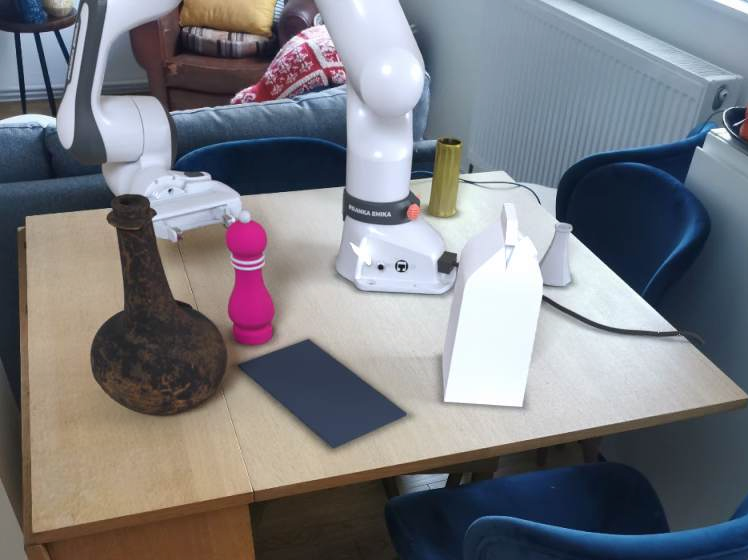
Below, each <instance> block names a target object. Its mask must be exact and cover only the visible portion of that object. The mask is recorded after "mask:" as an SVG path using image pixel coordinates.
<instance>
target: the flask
mask: <svg viewBox="0 0 748 560" xmlns="http://www.w3.org/2000/svg"><path fill="white" fill-rule="evenodd" d="M573 228H574V227H573V225H572V224H570V223H567V222H557V223H555V224H554V234H553V238H552V240H551V243H550V245H549V246H548V248H547V250H546V251H545V253H544V255H543V256H542V258H541V259H540V261H539V262H538V264H539V267H540V271H541V275H542V279H543V285H547V286H552V287H553V286H554V287H565V286H566V285H568V284H569V283H571V282H572V275H571V268H570V259H569V238H570V234H571V232H572V231H573Z"/></svg>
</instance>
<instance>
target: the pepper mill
mask: <svg viewBox="0 0 748 560" xmlns="http://www.w3.org/2000/svg"><path fill="white" fill-rule="evenodd" d="M225 245H226V247H227V249H228V251H229V252H230V255H229V257H230V265H231V266H232V267H233V269H234V284H233V285H234V286H233V289H232V291H231V294H230V296H229V298H228V303H227V315H228V318H229V320H230V321H231V323H232V327H231V329H232V337H233V339H234V340H235V341H236V342H238V343H240V344H242V345H245V346H259V345H262V344H266V343H267V342H270V341H271V339H272V338H273V323H272V320H273V319H274V317H275V315H276V314H275V312H276V310H275V304H274V301H273V299H272V296H271V294H270V292H269V290H268V288H267V285H266V283H265V281H264V275H263V267H264V266H265V264H266V261H265V257H266V255H265V253H264V251H266V248H267V247H268V246H267V245H268V235H267V233H266V230H265V228H264V227H263V226H262V224H260V223H259V222H257V221H255V220H253V219H252V215H251V213H250V212H249V211H248V210H244V209H242V211H241V212H240V213H239V218H238V219H236V220H235V222H233V223H232V224H231V225H230V226H229V227H228V229H226V232H225Z"/></svg>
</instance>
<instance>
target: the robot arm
mask: <svg viewBox="0 0 748 560" xmlns="http://www.w3.org/2000/svg"><path fill="white" fill-rule="evenodd" d="M182 1H183V0H79V1H78V8H77V11H76V15H75V16H76V17H75V22H74V29H73V33H72V34H73V35H72V40H71V45H70V52H69V58H68V65H67V70H66V75H65V76H66V77H65V83H64V87H63V91H62V94H61V97H60V100H59V103H58V106H57V110H56V113H55V114H56V115H55V127H56V134H57V139H58V142H59V144H60V146H61V148H62V149H63V150H64V151H65V152H66V153H67V154H68V155H69V156H70V157H71V158H73V159H74V160H75V161H76V162H78V163H80V164H81V165H83V166H85V167H88V166H95V165H101V172H102V176H103V180H104V181H105V183H106V185H107V187H108V188H109V189H110V191H111V193H113V195H114V196H115V197H116V196H119V195H123V194H140V195H142V196H145V197H147V198H148V199H149V201H150V208H153V209H154V210H155V211H156V212H157V215H156V216H154V217H153V218H152V222H153V227H154V231H155V235H156V239H162V240H169V241H171V242H172V243H173V244H175V243H179V242H182V241H184V237H183V233H184V232H188V231H191V230H192V231H193V230H196V229H201V228H204V227H208V226H212V225H217V224H222V228H224V229H225V230H227V229H228V227H229V226H230V225H231V224H232V223H233V222H235V221H236V220H239V213H240V212H241V211H243V200H242V199H243V198H242V196H241V194H240V193H239V192H238V191H236V190H235V189H234V188H232V187H230V186H229V185H227V184H225V183H223V182H221V181H218V180H214V179H212V176H211V174H210V173H208V172H206V171H178V170H172V169H173V167H174V164H175V161H176V158H177V156H178V155H177V154H178V148H179V134H178V128H177V124H176V121H175V119H174V117H173V116H172V114H171V113H170V110H169V109H168V108H167V107H166V105H165V104H164V103H163V102H162V101H161V100H160V99H159V98H157V97H156V96H154V95H130V94H129V95H105V94H104V95H103V94H102V89H103V84H104V80H105V79H104V78H105V74H106V69H107V63H108V58H109V53H110V50H111V48H112V46H113V45H114V43H115V42H116V41H117V40H118V39H119V38H120V37H121V36H123V35H124V34H126V33H128V32H129V31H131V30H134V29H135V28H137V27H139V26H142V25H145V24H148V23H151V22H154V21H158V20H160V19H162V18H164V17H166V16H167V15H169V14H170V13H172V12H173V11H174V10H175V9H176V8H177V7H178V6H179V5H180V3H181V2H182ZM313 2H314V4H315V6H316V8H317V11H318V13H319V15H320V17H321V20H322V23H323V24H324V27H325V30H326V31H327V33H328V35H329V38H330V40H331V42H332V44H333V46H334V49H335V51H336V54H337V55H338V57H339V61H340V62H341V64H342V66H343V69H344V71H345V93H346V94H345V95H346V96H345V97H346V99H345V101H346V102H345V104H346V106H345V107H346V108H345V109H346V164H345V165H346V167H345V186H344V188H343V190H342V199H341V215H342V221H343V226H342V234H341V240H340V244H339V248H338V253H337V256H336V259H335V261H334V268H335V271H336V272H337V273H338V274H339V275H340V276H342V277H343V278H345V279H347V280H349V282H351V283H352V284H354V286H355V287H356V288H357V289H358V290H360V291H364V292H367V291H368V292H384V293H385V292H386V293H402V294H403V293H404V294H424V295H426V294H427V295H443V294H445V293H446V292H448V291H450V290H451V288H452V287H453V285H455V283H456V278H457V269H458V267H459V262H457V261H458V260H457V258H458V253H456V252H451V251H448V250H447V249H446V243H445V239H444V237H443V235H442V233H440V231H438V230H437V229H436V228H435V227H434V226H433V225H432V224H431V223H429V222H428V221H427V220H426V219H425V218H424V217H423V216H422V215H420V212H421V194H420V192H419V193H417V195H416V194H415V193H414V192H413V191H411V189H410V188H411V175H412V167H413V166H412V164H413V153H414V152H413V151H414V134H413V133H414V130H413V127H414V123H413V122H414V121H413V117H414V116H413V114H414V113H413V109H414V108H415V107H416V105H417V104H418V103H419V101H420V99H421V97H422V94H423V90H424V87H425V81H426V65H425V61H424V58H423V55H422V53H421V51H420V48H419V46H418V43H417V40H416V38H415V36H414V34H413V31H412V29H411V27H410V24H409V22H408V19H407V17H406V15H405V12H404V10H403V8H402V5H401V3H400V0H313ZM541 301H544V302H546V303H547V304H549V305H550V306H552V307H553V308H555V309H557V310H558V311H561V312H562V313H564V314H566V315H568V316H571V317H572V318H574V319H576V320H578V321H580V322H582V323H584V324H586V325H588V326H591V327H593V328H596V329H599V330H602V331H606V332H610V333H614V334H620V335H630V336H631V335H632V336H646V337H659V338H663V337H665V338H667V337H689V338H691V339H693V340H695V341H696V342H697V343H698V344H699V345H700V346H706V343H705V341H704V340H703V338H702V337H701V336H700V335H698V334H697V333H694V332H692V331H687V330H672V331H653V330H643V329H628V328H627V329H626V328H618V327H614V326H609V325H606V324H602V323H600V322H596V321H593V320H591V319H590V318H587V317H586V316H583V315H582V314H579V313H577V312H575V311H573V310H571V309H569V308H567V307H565V306H563V305H561V304H559V302H556V301H555V300H553V299H551V298H550V297H548V296H546V295H545V294H542V300H541ZM658 332H659V333H658ZM679 334H680V335H681V336H680V335H679ZM677 335H678V336H677Z"/></svg>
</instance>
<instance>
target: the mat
mask: <svg viewBox="0 0 748 560" xmlns="http://www.w3.org/2000/svg"><path fill="white" fill-rule="evenodd" d="M237 367H238V368H239V369H240V370H241V371H243V373H244V374H246V375H247V376H248V377H249V378H250V379H252V380H253V381H254V382H255V383H256V384H258V385H259V386H260V387H261V388H262V389H263V390H265V391H266V392H267V393H268V394H269V395H270V396H271V397H273V398H274V399H275V400H276V401H277V402H279V404H281V405H282V407H284V408H285V409H287V410H288V412H289V413H291V414H292V415H293V416H295V418H297V419H298V420H300V422H301V423H303V424H304V425H305V426H306V427H307V428H308V429H310V431H312V432H313V433H314V434H315V435H317V436H318V437H319V438H320V439H321V440H322V441H324V442H325V444H327V445H328V446H330V448H332V449H335V448H338V447H340V446H343V445H345V444H347V443H349V442H351V441H353V440H356V439H357V438H360V437H362V436H364V435H366V434H368V433H371V432H373V431H375V430H378V429H380V428H382V427H384V426H387V425H388V424H392V423H393V422H396V421H397V420H399V419H402V418H404V417H406V416H407V412H406V411H404V410H403V409H402V408H401V407H399V406H398V405H397V404H396V403H394V402H393V401H392V400H390V399H389V398H387V397H386V396H384V394H382V393H381V392H380V391H379V390H377V389H376V388H374V387H373V386H372V385H370V384H369V383H368V382H366V380H363V379H362V378H361V377H360V376H359V375H357V374H356V373H354V372H353V371H352V370H350V369H349V368H348V367H347V366H345V365H344V364H343V363H341V362H340V361H339V360H337V359H336V358H335V357H333V356H332V355H330V354H329V352H326V350H324V349H322V347H320V346H319V345H318V344H316V343H314V342H313V341H312V340H311V339H309V338H308V339H305V340H302V341H299V342H295V343H293V344H290V345H287V346H284V347H281V348H279V349H276V350H273V351H271V352H268V353H266V354H262V355H260V356H258V357H254V358H252V359H251V358H250V359H249V360H246V361H243V362H240V363H238V364H237Z"/></svg>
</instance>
